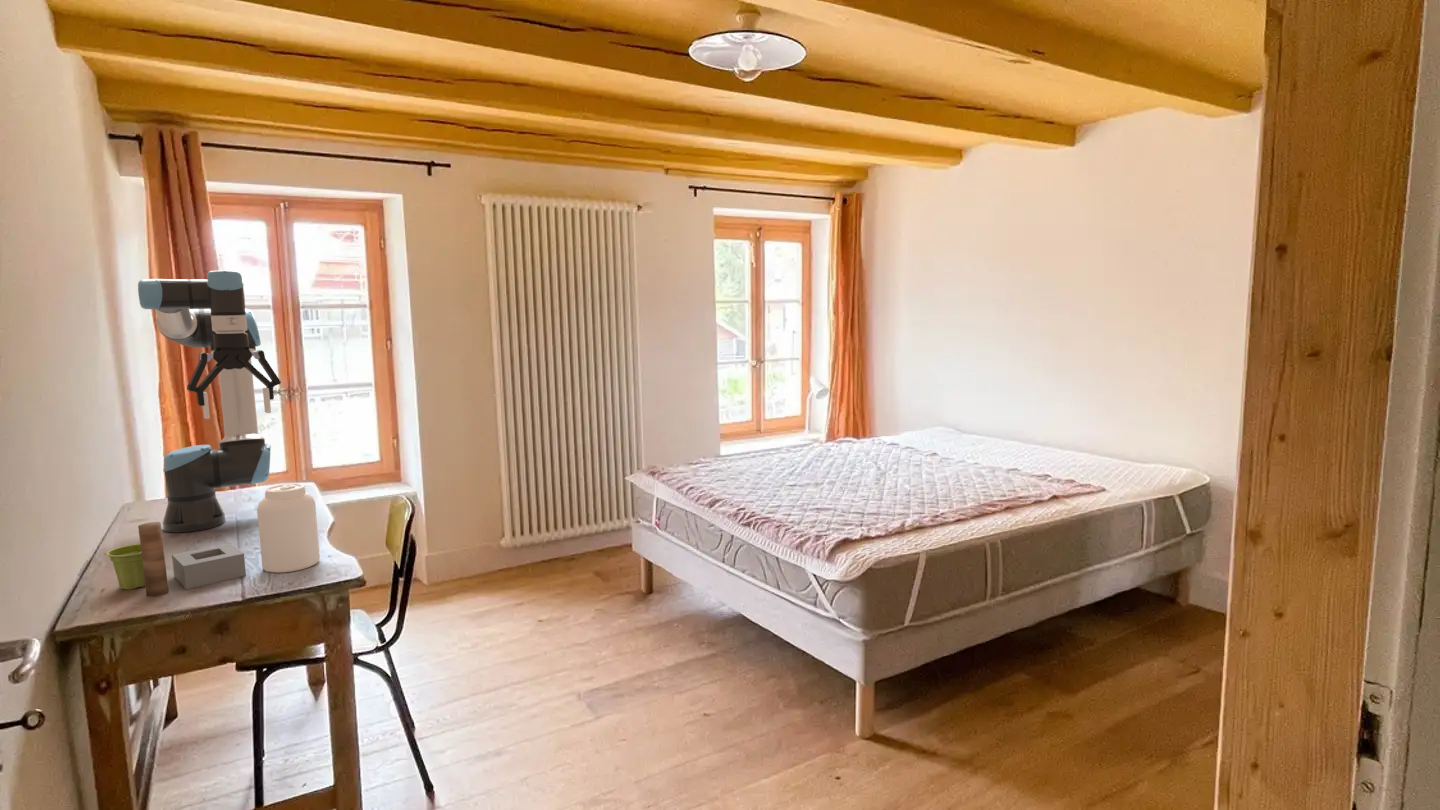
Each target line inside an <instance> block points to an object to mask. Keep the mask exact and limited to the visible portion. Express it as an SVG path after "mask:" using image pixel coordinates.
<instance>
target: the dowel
mask: <svg viewBox="0 0 1440 810" xmlns="http://www.w3.org/2000/svg"><path fill="white" fill-rule="evenodd" d="M137 529H138V536H139V544H140V546H141V554H142V562H143V571H144V579H145V587H144V588H145V595H146V597H148V598H149V597H150V598H151V597H152V598H153V597H155V598H156V597H159V596H163V595H165V594H168V593H169V585H168V577H167V567H166V558H165V550H164V541H163V533H162V523H161V522H160V521H150V522H145V523H140V524H139V525H138V527H137Z"/></svg>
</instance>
